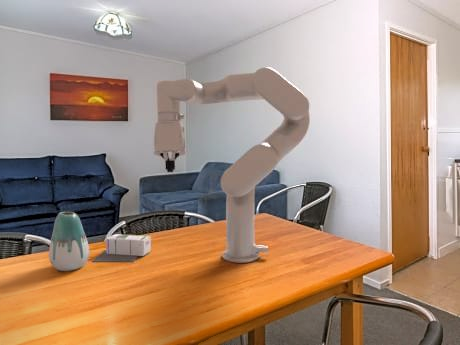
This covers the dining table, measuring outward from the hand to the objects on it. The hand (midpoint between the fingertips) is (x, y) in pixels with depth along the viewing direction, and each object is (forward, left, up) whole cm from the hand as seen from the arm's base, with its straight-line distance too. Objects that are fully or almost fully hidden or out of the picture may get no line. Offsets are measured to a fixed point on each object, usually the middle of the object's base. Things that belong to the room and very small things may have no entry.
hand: (170, 171), depth 117 cm
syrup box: (+8, +2, -26) cm, 27 cm away
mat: (+19, +3, -29) cm, 35 cm away
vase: (+31, +13, -29) cm, 44 cm away
